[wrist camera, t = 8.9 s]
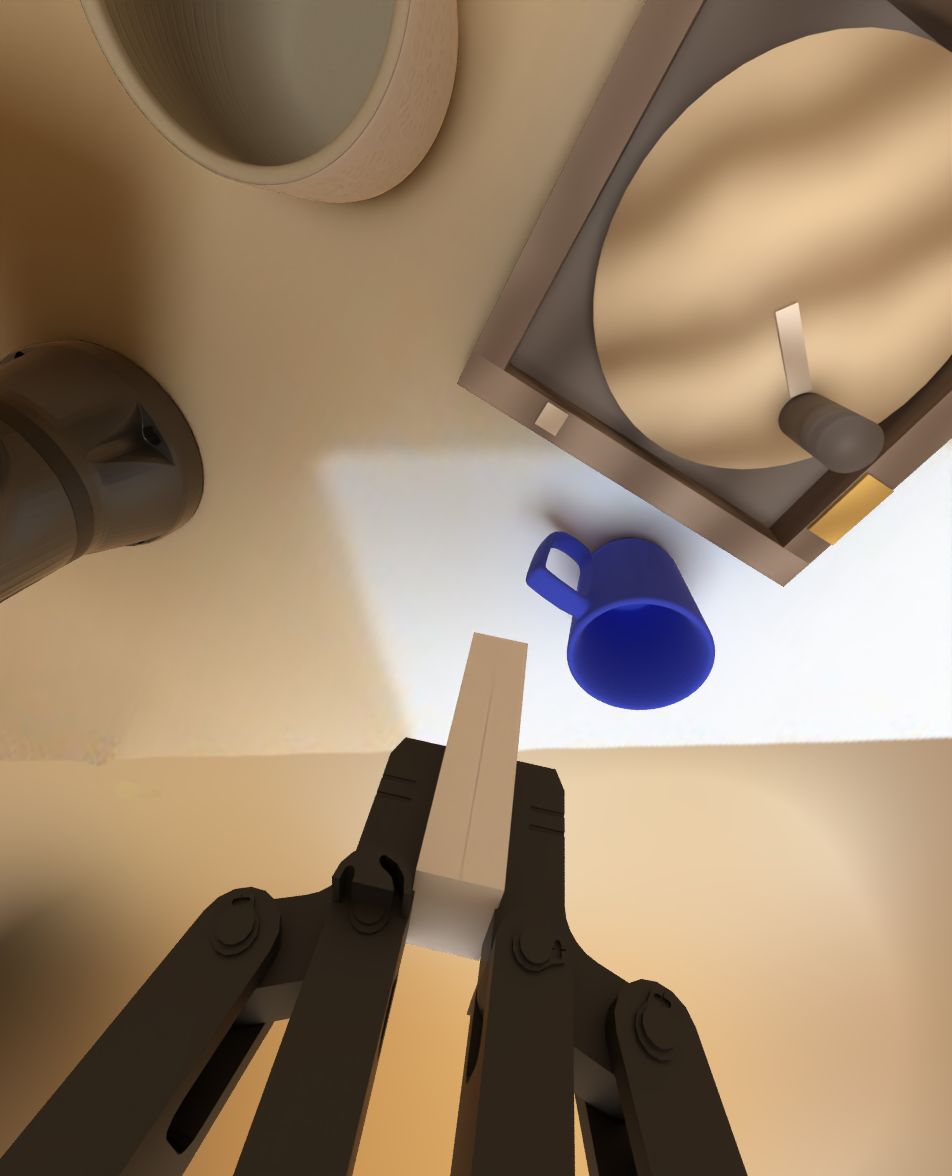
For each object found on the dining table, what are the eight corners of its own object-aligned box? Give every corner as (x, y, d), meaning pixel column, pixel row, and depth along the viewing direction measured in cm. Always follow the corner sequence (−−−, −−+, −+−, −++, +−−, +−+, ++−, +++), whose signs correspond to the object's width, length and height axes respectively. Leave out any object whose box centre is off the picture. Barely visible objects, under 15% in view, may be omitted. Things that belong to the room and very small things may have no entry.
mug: (578, 467, 34) (576, 529, 26) (710, 567, 36) (749, 654, 28) (507, 552, 39) (487, 628, 30) (629, 637, 41) (642, 731, 32)
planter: (361, -233, 21) (189, -628, 12) (525, 90, 25) (492, -16, 16) (193, 35, 26) (-16, -93, 17) (351, 265, 30) (252, 261, 21)
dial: (545, 193, 26) (531, 163, 19) (974, -65, 20) (1187, -250, 13) (644, 497, 34) (660, 555, 27) (981, 381, 27) (1120, 418, 20)
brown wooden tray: (468, 373, 32) (455, 384, 29) (756, -200, 20) (790, -292, 16) (766, 561, 35) (785, 589, 32) (1187, 166, 23) (1286, 148, 19)
